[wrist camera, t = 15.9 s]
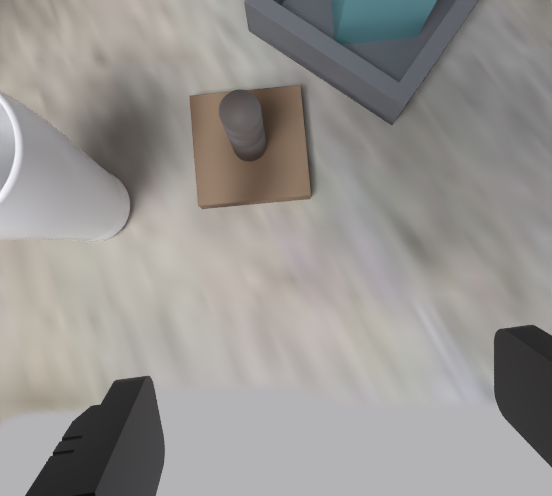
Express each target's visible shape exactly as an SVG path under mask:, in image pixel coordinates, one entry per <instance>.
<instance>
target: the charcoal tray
mask: <svg viewBox="0 0 552 496" xmlns="http://www.w3.org/2000/svg"><path fill="white" fill-rule="evenodd" d="M477 2H478V0H437V1H436V3H435V5H434V7H433V9H432V10H431V12H430V14H429V16H428V18H427V20H426V22H425V23H424V25H423V27H422V29H421V31H420V33H419V35H418V36H417V37H413V38H403V39H394V40H384V41H374V42H364V43H355V44H345V45H341V44H339V43H338V42H336V41H335V36H334V27H333V17H332V8H331V0H245V2H244V3H245V10H246V16H247V22H248V29H249V31H250V32H252V33H253V34H255V35H256V36H258V37H259V38H261V39H262V40H264V41H265V42H267V43H268V44H270V45H271V46H273V47H274V48H276V49H277V50H279V51H280V52H282V53H283V54H285V55H286V56H288V57H289V58H291V59H292V60H294V61H295V62H297V63H298V64H300V65H302V66H303V67H305V68H306V69H308V70H309V71H311V72H312V73H314V74H315V75H317V76H318V77H320V78H321V79H323V80H324V81H326V82H327V83H329V84H330V85H332V86H333V87H335V88H336V89H338V90H339V91H341V92H342V93H344V94H345V95H347V96H348V97H350V98H351V99H353V100H354V101H356V102H358V103H359V104H361V105H362V106H364V107H365V108H367V109H368V110H370V111H371V112H373V113H374V114H376V115H377V116H379V117H380V118H382V119H383V120H385V121H386V122H388V123H389V124H391V125H392V124H393V123H394V121H395V120H396V118H397V117H398V116H399V114H400V113H401V111H402V110H403V108H404V107H405V105H406V104H407V103H408V101H409V100H410V98H411V97H412V95H413V94H414V92H415V91H416V90H417V88H418V87H419V85H420V84H421V82H422V81H423V79H424V78H425V77H426V75H427V74H428V72H429V71H430V69H431V68H432V67H433V65H434V64H435V62H436V61H437V59H438V58H439V56H440V55H441V54H442V52H443V51H444V49H445V48H446V46H447V45H448V43H449V42H450V41H451V39H452V38H453V36H454V35H455V33H456V32H457V30H458V29H459V28H460V26H461V25H462V23H463V22H464V20H465V19H466V18H467V16H468V15H469V13H470V12H471V10H472V9H473V7H474V6H475V5H476V3H477Z"/></svg>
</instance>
